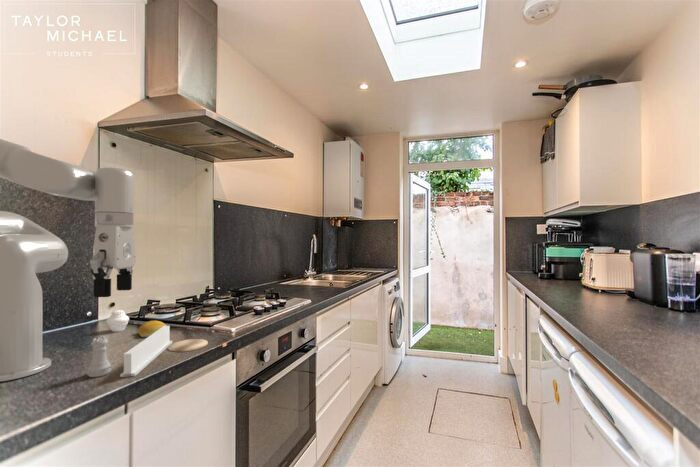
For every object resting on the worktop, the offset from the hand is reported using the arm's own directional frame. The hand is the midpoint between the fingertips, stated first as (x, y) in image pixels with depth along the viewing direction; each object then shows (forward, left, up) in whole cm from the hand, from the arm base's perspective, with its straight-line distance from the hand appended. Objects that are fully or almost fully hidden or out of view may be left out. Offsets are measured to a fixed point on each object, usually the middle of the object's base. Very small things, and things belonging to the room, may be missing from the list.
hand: (113, 293), depth 79 cm
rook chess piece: (-1, -3, -18) cm, 18 cm away
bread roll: (-2, +30, -18) cm, 35 cm away
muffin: (-15, +36, -18) cm, 43 cm away
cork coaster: (+13, +14, -18) cm, 26 cm away
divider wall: (+6, +6, -18) cm, 19 cm away
